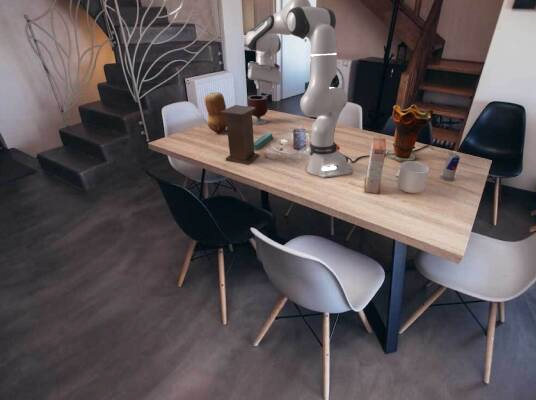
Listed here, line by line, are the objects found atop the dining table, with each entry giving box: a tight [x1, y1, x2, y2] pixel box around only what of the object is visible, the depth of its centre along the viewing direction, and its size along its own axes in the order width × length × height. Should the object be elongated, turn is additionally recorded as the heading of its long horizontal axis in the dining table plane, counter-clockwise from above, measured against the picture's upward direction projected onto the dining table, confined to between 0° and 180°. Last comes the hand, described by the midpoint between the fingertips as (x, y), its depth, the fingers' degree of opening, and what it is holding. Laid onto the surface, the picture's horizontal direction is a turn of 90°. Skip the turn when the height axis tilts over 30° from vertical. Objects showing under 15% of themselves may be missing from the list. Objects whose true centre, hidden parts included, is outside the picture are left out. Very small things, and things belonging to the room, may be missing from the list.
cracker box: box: [365, 137, 387, 194], centre depth 136 cm, size 14×6×21 cm, turn 168°
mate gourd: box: [247, 93, 270, 126], centre depth 216 cm, size 16×14×20 cm
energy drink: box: [441, 152, 461, 181], centre depth 148 cm, size 5×5×12 cm
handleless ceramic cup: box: [396, 160, 430, 194], centre depth 137 cm, size 12×12×11 cm
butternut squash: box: [204, 91, 227, 134], centre depth 193 cm, size 14×13×25 cm
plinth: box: [220, 104, 260, 165], centre depth 158 cm, size 14×13×26 cm
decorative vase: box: [386, 104, 434, 162], centre depth 166 cm, size 21×23×28 cm
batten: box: [254, 132, 273, 151], centre depth 184 cm, size 22×4×3 cm, turn 162°
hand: (265, 90), depth 171 cm, fingers open, 8 cm apart
